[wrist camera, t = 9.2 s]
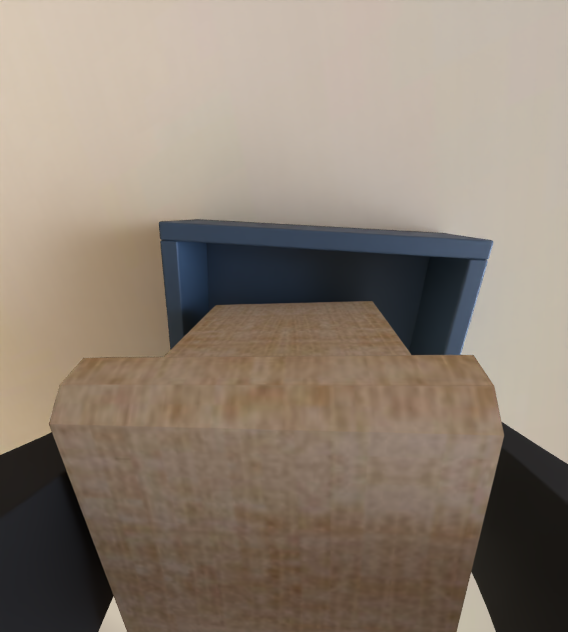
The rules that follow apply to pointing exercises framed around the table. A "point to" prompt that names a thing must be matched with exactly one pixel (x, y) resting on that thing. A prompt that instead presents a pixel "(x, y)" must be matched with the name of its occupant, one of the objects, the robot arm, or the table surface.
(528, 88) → the table surface
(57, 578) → the robot arm
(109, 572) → the toy train
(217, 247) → the open box
